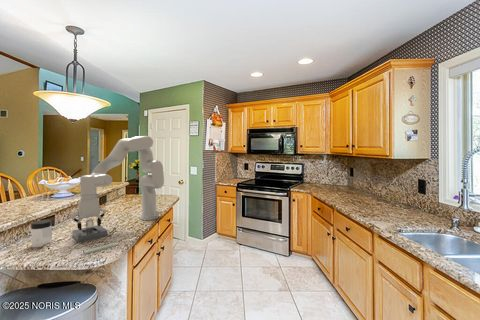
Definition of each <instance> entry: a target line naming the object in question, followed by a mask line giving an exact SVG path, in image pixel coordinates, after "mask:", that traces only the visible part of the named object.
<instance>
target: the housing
mask: <svg viewBox="0 0 480 320" xmlns="http://www.w3.org/2000/svg"><path fill="white" fill-rule="evenodd" d="M85 232H86V227H85V228H84V227H83V228H82V230H79V229H78V228H77V229H74V230H72V231H71V233H72V237H73V239H74V240H75V241H76V242H77V244H79V243H83V242H86V241H87V242H88V241H91V240H95V239H100V238H104V237H108V230H107V229H106V228H105V227H104V226H103V225H102V224H100V226H98V225H94V232H89V233H85Z"/></svg>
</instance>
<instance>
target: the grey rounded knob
mask: <svg viewBox="0 0 480 320" xmlns="http://www.w3.org/2000/svg"><path fill="white" fill-rule="evenodd" d="M94 226H95V225H94V219H93V218H89V219H88V218H87V219H85V228H86V232H85V233H89V232H94Z"/></svg>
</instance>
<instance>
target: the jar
mask: <svg viewBox="0 0 480 320" xmlns="http://www.w3.org/2000/svg"><path fill="white" fill-rule="evenodd" d="M30 228H31V248H43V247H44V245H46V244H50V243H52V242H53V228H52V219H39V220H37V221H33V222H31V224H30Z"/></svg>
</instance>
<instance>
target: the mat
mask: <svg viewBox="0 0 480 320" xmlns="http://www.w3.org/2000/svg"><path fill="white" fill-rule="evenodd" d="M116 246H118V243H116V242H111V243H107V244H103V245H99V246H95V247H92V248H87V249H84V250H82V252H83V254H84V255H87V254H91V253H95V252H98V250H99V251H103V250H106V249H110V248H114V247H116ZM102 249H103V250H102Z"/></svg>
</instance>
